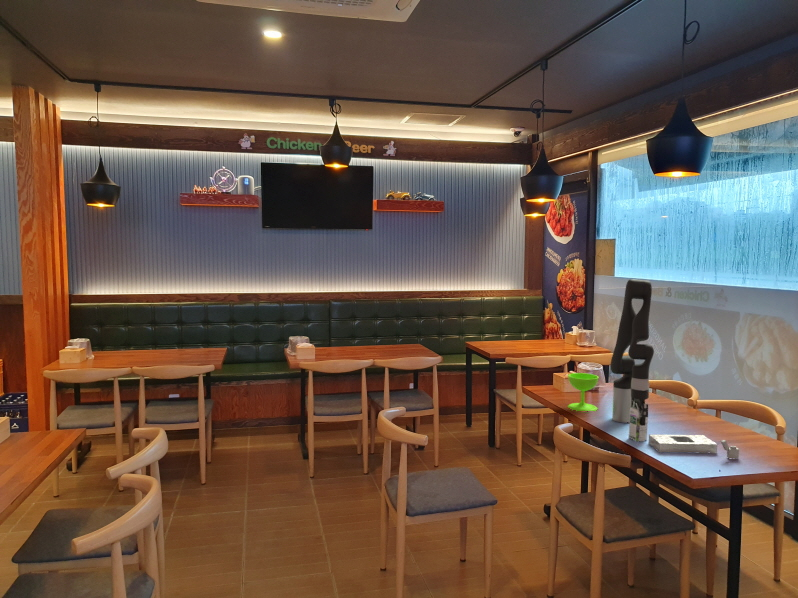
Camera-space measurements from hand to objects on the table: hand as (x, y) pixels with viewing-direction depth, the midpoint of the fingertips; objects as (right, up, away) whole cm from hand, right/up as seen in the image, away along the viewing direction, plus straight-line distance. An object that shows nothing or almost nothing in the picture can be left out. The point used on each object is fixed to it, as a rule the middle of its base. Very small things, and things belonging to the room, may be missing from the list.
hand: (638, 422), depth 260 cm
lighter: (+28, -10, -23) cm, 38 cm away
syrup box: (0, -8, +1) cm, 8 cm away
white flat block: (+14, -9, -11) cm, 20 cm away
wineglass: (-9, -4, +53) cm, 54 cm away
